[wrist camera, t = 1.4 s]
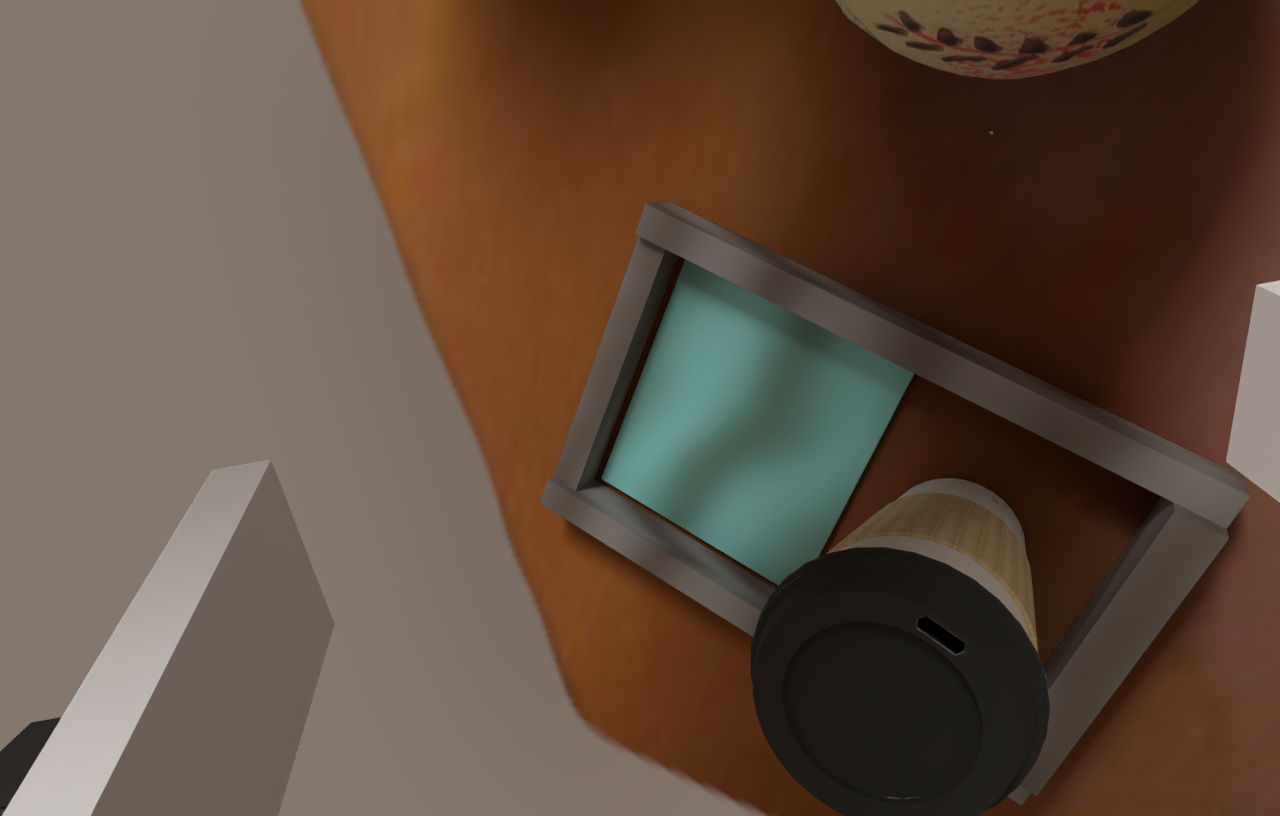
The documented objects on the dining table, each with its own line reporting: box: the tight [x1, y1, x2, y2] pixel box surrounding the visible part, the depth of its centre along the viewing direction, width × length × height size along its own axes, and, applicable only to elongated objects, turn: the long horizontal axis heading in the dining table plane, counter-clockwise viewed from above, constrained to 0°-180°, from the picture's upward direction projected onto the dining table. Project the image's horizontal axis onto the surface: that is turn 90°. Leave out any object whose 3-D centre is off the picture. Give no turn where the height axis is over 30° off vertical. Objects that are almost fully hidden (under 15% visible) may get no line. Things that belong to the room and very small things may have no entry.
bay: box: [540, 201, 1250, 806], centre depth 43 cm, size 27×17×4 cm, turn 68°
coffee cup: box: [751, 478, 1050, 816], centre depth 36 cm, size 10×10×15 cm
